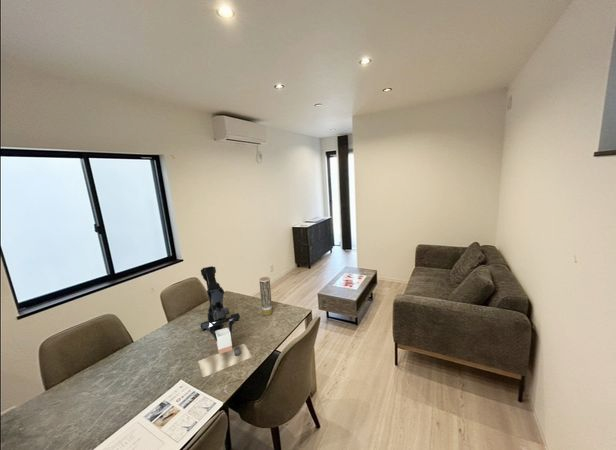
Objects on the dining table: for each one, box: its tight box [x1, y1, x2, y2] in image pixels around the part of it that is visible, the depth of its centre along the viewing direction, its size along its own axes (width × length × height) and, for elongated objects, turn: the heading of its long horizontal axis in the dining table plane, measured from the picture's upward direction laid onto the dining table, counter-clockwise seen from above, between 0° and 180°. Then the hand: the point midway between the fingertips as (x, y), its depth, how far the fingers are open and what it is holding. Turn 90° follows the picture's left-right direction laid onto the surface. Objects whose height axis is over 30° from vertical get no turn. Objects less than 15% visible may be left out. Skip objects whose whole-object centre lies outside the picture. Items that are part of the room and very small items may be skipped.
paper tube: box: [259, 276, 273, 316], centre depth 171 cm, size 7×7×25 cm
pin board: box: [198, 343, 253, 378], centre depth 129 cm, size 24×13×4 cm, turn 122°
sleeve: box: [215, 326, 233, 354], centre depth 127 cm, size 6×6×9 cm
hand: (223, 339), depth 126 cm, fingers closed on sleeve, 6 cm apart
